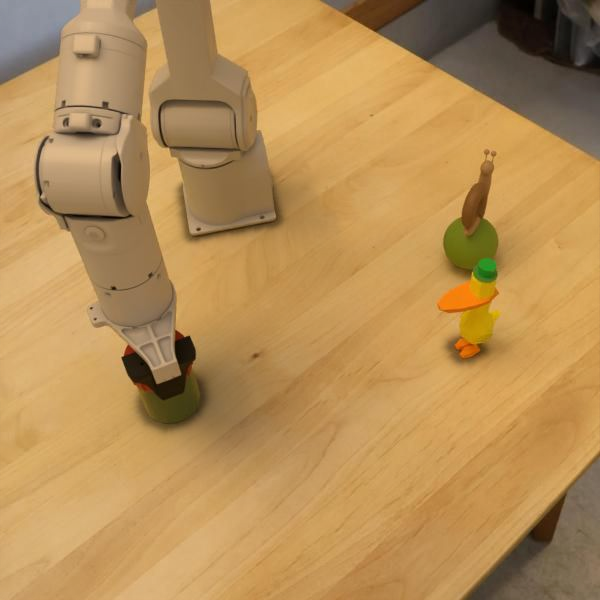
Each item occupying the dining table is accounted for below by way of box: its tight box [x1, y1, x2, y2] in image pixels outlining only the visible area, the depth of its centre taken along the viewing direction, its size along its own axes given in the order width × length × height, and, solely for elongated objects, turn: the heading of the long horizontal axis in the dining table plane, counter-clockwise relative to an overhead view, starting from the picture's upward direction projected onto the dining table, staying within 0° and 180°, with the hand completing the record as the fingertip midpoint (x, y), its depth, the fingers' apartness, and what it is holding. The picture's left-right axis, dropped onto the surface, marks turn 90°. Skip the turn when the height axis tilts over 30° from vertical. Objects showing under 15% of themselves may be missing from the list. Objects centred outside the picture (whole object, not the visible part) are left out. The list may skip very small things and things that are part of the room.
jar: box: [136, 367, 201, 424], centre depth 77 cm, size 5×5×7 cm
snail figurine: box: [442, 148, 499, 270], centre depth 83 cm, size 5×6×12 cm
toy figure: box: [436, 258, 503, 359], centre depth 76 cm, size 7×4×12 cm, turn 112°
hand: (159, 362), depth 75 cm, fingers open, 6 cm apart
